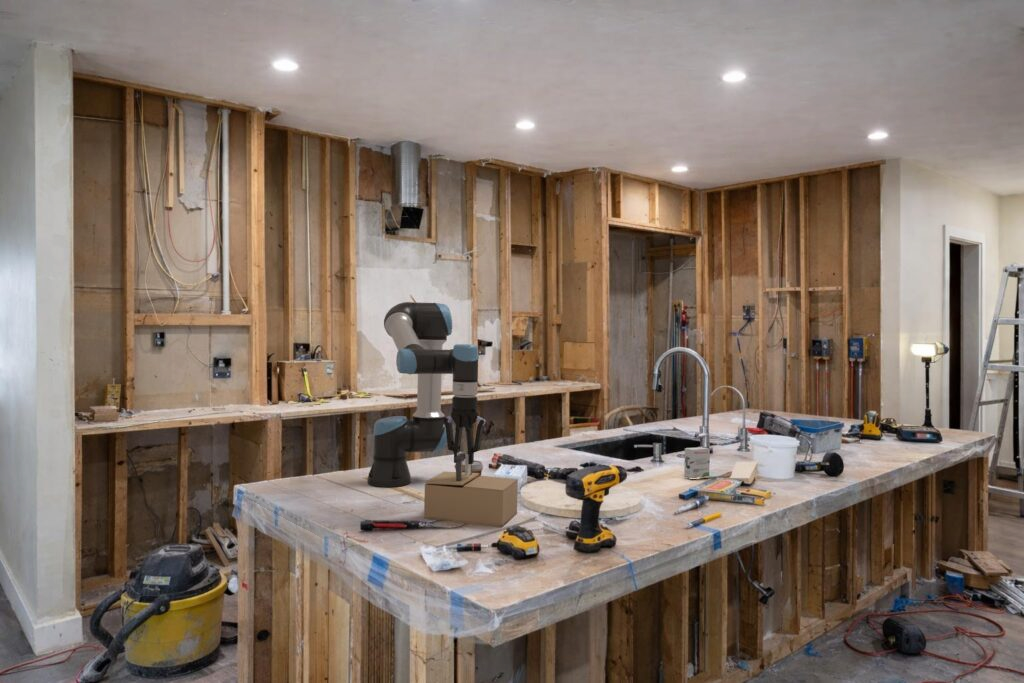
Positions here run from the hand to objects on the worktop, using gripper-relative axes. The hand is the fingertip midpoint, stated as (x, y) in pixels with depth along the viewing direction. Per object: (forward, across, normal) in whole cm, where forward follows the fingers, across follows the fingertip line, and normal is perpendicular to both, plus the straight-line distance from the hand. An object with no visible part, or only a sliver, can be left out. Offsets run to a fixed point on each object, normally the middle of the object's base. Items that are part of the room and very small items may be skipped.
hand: (463, 474), depth 204 cm
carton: (+12, +3, 0) cm, 13 cm away
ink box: (+13, +66, +82) cm, 106 cm away
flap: (+2, -3, 0) cm, 4 cm away
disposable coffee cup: (+12, -5, +19) cm, 23 cm away
